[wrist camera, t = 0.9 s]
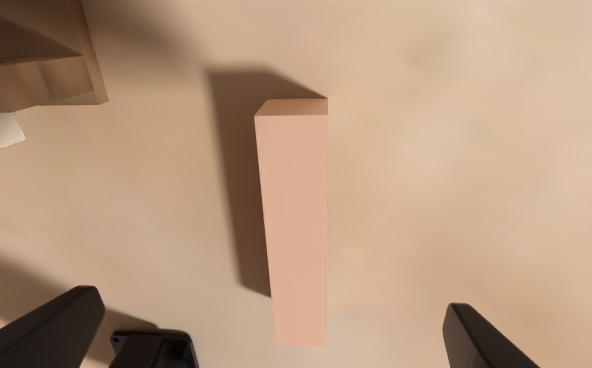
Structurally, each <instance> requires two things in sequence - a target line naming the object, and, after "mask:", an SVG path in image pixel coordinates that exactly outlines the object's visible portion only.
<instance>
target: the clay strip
mask: <svg viewBox="0 0 592 368" xmlns="http://www.w3.org/2000/svg"><path fill="white" fill-rule="evenodd" d="M254 120H255V131H256V141H257V151H258V162H259V172H260V183H261V193H262V204H263V214H264V224H265V235H266V245H267V256H268V266H269V277H270V287H271V297H272V308H273V318H274V329H275V339H276V344H286V345H303V346H320V347H326V239H327V124H328V98H312V99H267V101H266V102H265V103H264V104H263V106H262V107H261V108H260V109H259V110H258V112H257V113H256V114H255V115H254Z"/></svg>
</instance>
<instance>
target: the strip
mask: <svg viewBox="0 0 592 368" xmlns="http://www.w3.org/2000/svg"><path fill="white" fill-rule="evenodd" d="M22 140H25V136H24V134H23V132H22V129H21V127H20V125H19V123H18V120H17V118H16V116H15V113H14V112H11V113H0V149H1V148H4V147H7V146H9V145H12V144H14V143H17V142H20V141H22Z"/></svg>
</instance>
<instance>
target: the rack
mask: <svg viewBox="0 0 592 368" xmlns="http://www.w3.org/2000/svg"><path fill="white" fill-rule="evenodd" d="M105 102H108V97H107V94H106V91H105V87H104V84H103V80H102V77H101V73H100V70H99V67H98V63H97V60H96V56H95V53H94V50H93V46H92V43H91V39H90V36H89V32H88V29H87V26H86V22H85V19H84V15H83V12H82V8H81V5H80V2H79V0H0V113H11V112H15V111H18V110H22V109H26V108H29V107H33V106H36V105H100V104H102V103H105Z"/></svg>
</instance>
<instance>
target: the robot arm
mask: <svg viewBox="0 0 592 368" xmlns="http://www.w3.org/2000/svg"><path fill="white" fill-rule="evenodd" d="M104 315H105V306H104V304H103V301H102V299H101V296H100V294H99V292H98V289H97V288H96V287H95V286H88V285H79V286H76V287H74V288H73V289H71V290H69V291H67V292H65V293H64V294H62V295H60V296H58V297H56V298H55V299H53V300H51V301H49V302H47V303H46V304H44V305H42V306H40V307H38V308H37V309H35V310H33V311H31V312H29V313H28V314H26V315H24V316H22V317H20V318H18V319H17V320H15V321H13V322H11V323H9V324H8V325H6V326H4V327H2V328H0V368H79V367H80V365H81V363H82V361H83V359H84V357H85V355H86V353H87V351H88V349H89V347H90V345H91V343H92V341H93V339H94V336H95V334H96V332H97V330H98V328H99V326H100V324H101V322H102V320H103V318H104ZM443 338H444V342H445V346H446V351H447V355H448V359H449V364H450V368H540V367H539V366H538V365H537V364H535V363H534V362H533V361H532V360H531V359H530V358H529V357H528V356H526V355H525V354H524V353H523V352H522V351H521V350H520V349H519V348H518V347H516V346H515V345H514V344H513V343H512V342H511V341H510V340H509V339H507V338H506V337H505V336H504V335H503V334H502V333H501V332H500V331H498V330H497V329H496V328H495V327H494V326H493V325H492V324H491V323H490V322H488V321H487V320H486V319H485V318H484V317H483V316H482V315H481V314H479V313H478V312H477V311H476V310H475V309H474V308H473V307H472V306H470V305H469V304H466V303H450V304H449V305H448V307H447V311H446V315H445V319H444V323H443ZM110 341H111V343H112V346H113V348H114V350H115V353H116V356H115V358H114V359H113V361H112V362H111V364H110V366H109V367H108V368H199V365H198V361H197V357H196V354H195V350H194V346H193V342H192V339H191V338H190V337H188V336H185V335H170V334H154V333H138V332H122V331H115V332H113V334H112V335H111V336H110Z"/></svg>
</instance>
